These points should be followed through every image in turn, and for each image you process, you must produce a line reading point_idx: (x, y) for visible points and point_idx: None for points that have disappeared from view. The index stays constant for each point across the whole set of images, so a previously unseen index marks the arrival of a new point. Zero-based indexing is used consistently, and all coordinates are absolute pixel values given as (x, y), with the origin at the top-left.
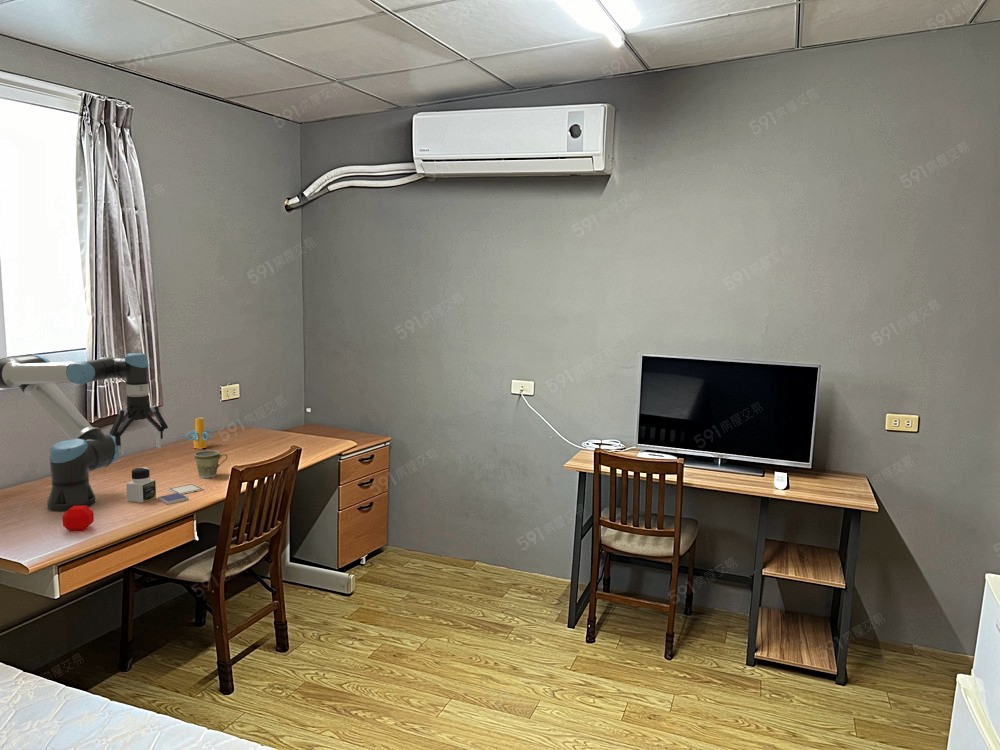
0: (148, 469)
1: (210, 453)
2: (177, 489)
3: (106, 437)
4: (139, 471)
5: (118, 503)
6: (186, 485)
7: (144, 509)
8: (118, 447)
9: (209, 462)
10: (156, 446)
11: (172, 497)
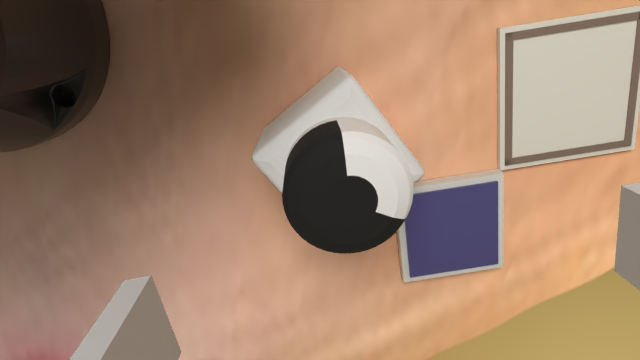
0: (401, 222)
1: None
2: (534, 75)
3: None
4: (328, 248)
5: (218, 139)
6: (607, 25)
7: (304, 289)
8: (87, 342)
9: None
10: (631, 213)
11: (446, 240)
